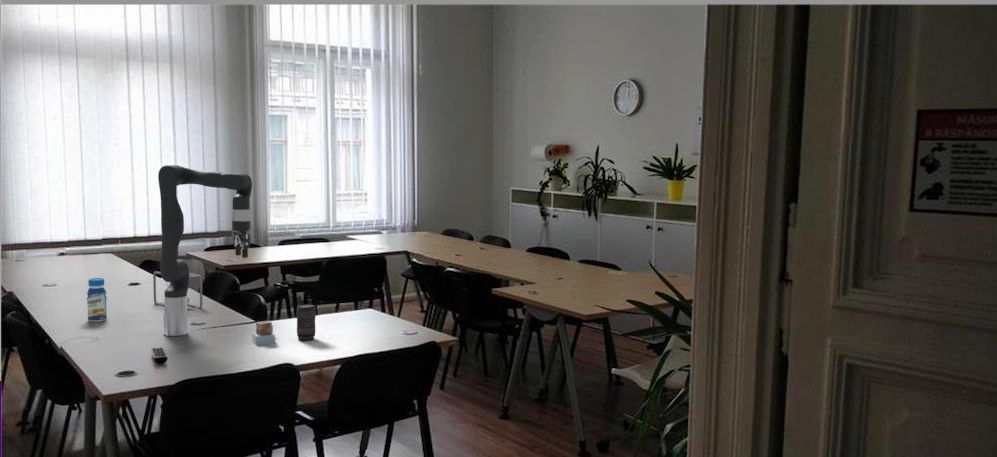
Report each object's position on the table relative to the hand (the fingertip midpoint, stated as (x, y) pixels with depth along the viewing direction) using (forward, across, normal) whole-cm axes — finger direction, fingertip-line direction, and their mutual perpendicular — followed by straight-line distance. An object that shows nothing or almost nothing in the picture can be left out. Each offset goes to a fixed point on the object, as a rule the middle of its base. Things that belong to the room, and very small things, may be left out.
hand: (241, 256), depth 346 cm
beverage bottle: (+36, -71, -45) cm, 92 cm away
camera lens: (+36, +18, +22) cm, 46 cm away
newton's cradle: (+36, -87, -4) cm, 94 cm away
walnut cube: (+32, +13, +5) cm, 35 cm away
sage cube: (+36, +3, +9) cm, 37 cm away
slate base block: (+36, +13, +5) cm, 39 cm away
